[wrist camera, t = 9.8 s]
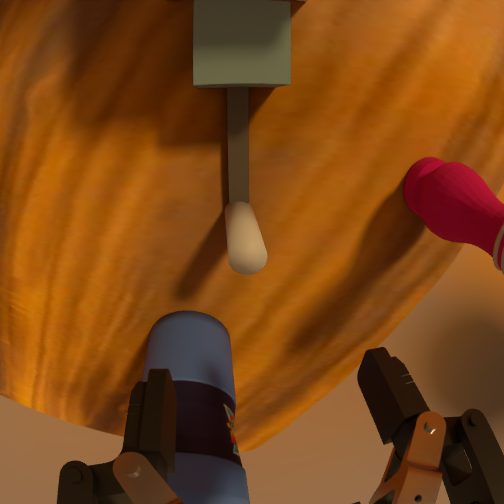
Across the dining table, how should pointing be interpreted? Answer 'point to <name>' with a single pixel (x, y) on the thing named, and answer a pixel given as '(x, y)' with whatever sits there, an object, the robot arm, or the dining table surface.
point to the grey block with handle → (241, 96)
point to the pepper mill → (457, 205)
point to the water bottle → (200, 407)
